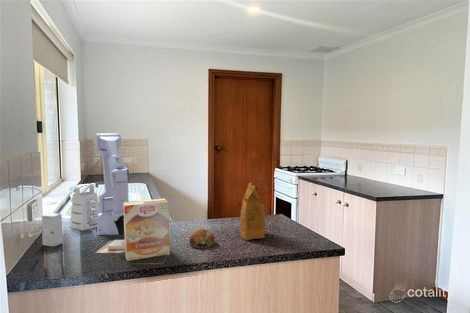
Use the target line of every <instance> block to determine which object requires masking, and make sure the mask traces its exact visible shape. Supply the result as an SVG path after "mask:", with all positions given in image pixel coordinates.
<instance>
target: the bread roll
mask: <svg viewBox="0 0 470 313" xmlns="http://www.w3.org/2000/svg"><path fill="white" fill-rule="evenodd" d="M215 239H216V238H215V235H214V232H212V231H211V230H209V229H207V228H197V229H196V230H194V231H193V232H192V233H191V234H190V236H189V246H190V247H192V248H194V249H205V248H209V247H212V246H214V244H215Z"/></svg>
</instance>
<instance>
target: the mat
mask: <svg viewBox="0 0 470 313" xmlns="http://www.w3.org/2000/svg"><path fill="white" fill-rule="evenodd" d="M114 240H115V239H114ZM114 240H112V239H111V240H109V241H108V242H106V243H105V244H104V245H103V246H102V247H100V248H99V249H98V250H97V251H95V252H94V254H118V253H119V254H120V253H121V254H122V253H123V254H125V250H108V248H107V246H108V245H109V244H110V243H112V242H113V241H114Z"/></svg>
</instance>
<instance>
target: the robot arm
mask: <svg viewBox="0 0 470 313" xmlns="http://www.w3.org/2000/svg"><path fill="white" fill-rule="evenodd" d="M121 146H122V137H121V134H120V133H119V132H117V133H116V132H115V133H100V132H97V133H96V134H95V150H96V152H97V154H100V156H101V159H102V168H103V170H102V171H103V183H104V191H103V192H102V193H101V194H100V195H98V196H99V197H98V203H99V211H100V213H99V214H98V216H97V218H96V219H97V224H96V225H97V227H96V231H97V232H96V236H97V235H98V236H101V235H102V236H104V235H110V236H112V235H115V236H116V235H119V236H124V211H123V202H130V201H129V200H130V199H129V183H130V179H131V178H130V177H131V175H130V171H129V168H127V166H126V165H125V161H124V159H123V157H122V156H121V155H120V154H119V150H120V149H121Z"/></svg>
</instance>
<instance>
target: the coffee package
mask: <svg viewBox="0 0 470 313" xmlns="http://www.w3.org/2000/svg"><path fill="white" fill-rule="evenodd" d="M258 190H259V187H258V186H255V185H254V184H253V183H252V182H249V183H248V186H247V188H246V191H245V194H244V196H243V199H242V202H241V203H242V204H241V208H240V221H239V222H240V224H239V225H240V226H239V228H240V229H239V230H240V236H241V238H242V239H243V240H245V241H250V240H256V239H264V238H266V237H265V230H266V218H265V216H266V214H265V203H264V201H263V199H262V198H261V197H260V195H259V194H258V192H257V191H258Z"/></svg>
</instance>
